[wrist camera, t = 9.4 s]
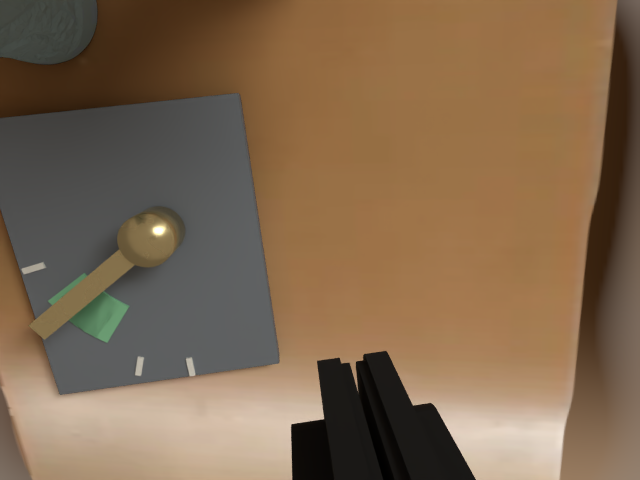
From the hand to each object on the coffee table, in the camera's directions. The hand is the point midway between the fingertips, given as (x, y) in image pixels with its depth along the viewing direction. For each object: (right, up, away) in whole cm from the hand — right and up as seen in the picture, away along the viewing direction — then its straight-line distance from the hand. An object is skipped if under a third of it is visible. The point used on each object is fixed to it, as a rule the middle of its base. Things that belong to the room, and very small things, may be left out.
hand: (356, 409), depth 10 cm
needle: (-18, +2, +24) cm, 30 cm away
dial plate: (-16, +3, +26) cm, 31 cm away
